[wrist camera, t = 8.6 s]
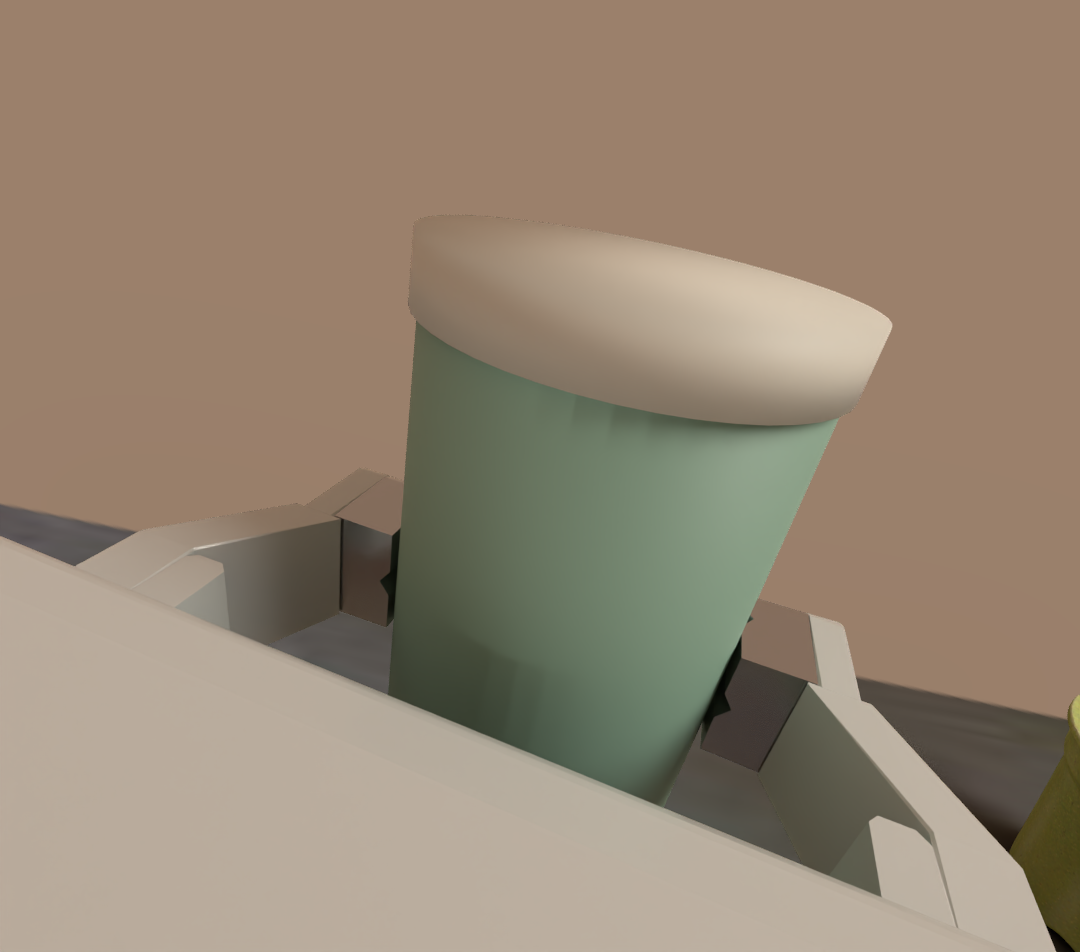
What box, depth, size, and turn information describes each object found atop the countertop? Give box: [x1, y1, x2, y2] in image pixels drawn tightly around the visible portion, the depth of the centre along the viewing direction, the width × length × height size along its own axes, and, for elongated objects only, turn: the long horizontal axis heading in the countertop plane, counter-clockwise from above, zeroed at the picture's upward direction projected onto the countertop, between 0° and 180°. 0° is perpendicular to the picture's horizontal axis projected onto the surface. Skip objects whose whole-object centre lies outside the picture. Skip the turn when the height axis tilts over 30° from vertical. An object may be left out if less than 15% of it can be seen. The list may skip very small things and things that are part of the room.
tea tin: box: [388, 215, 892, 808], centre depth 10 cm, size 5×5×12 cm
